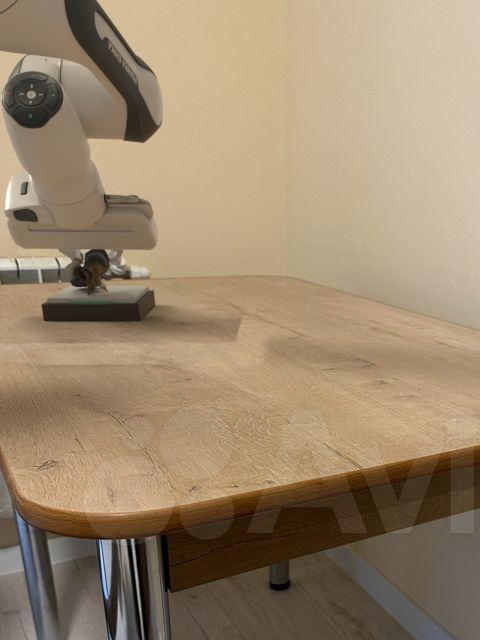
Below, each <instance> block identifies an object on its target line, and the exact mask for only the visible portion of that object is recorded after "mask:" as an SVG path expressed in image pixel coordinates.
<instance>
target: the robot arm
mask: <svg viewBox="0 0 480 640" xmlns="http://www.w3.org/2000/svg"><path fill="white" fill-rule="evenodd" d="M0 52H5V53H11V54H20V55H25V56H23V57H21V59H20V60H18V62H17V64H16V65H15V66H14V68H13V70H12V71H11V73H10V75H9V76H8V79H7V81H6V83H4V85H3V87H2V90H1V92H0V93H1V94H0V107H1V113H2V117H3V120H4V125H5V128H6V131H7V135H8V137H9V140H10V142H11V146H12V148H13V150H14V152H15V155H16V157H17V159H18V162H19V164H20V165H21V167H22V168H23V170H24V172H20V173H16V174H12V175H11V176H9V179H8V182H7V185H6V189H5V194H4V205H3V207H4V208H3V210H4V211H3V212H4V215H5V217H6V218H7V223H6V224H7V228H8V231H9V235H10V237H11V238H12V240H13V242H14V244H15V245H17V246H18V247H19V248H22V249H24V250H25V249H26V250H58V252H59V253H61V254H62V255H64V256H65V257H67V258H68V259H70V261H71V262H73V261H76V260H77V261H78V262H79V263H80V265H81V266H84V258H85V254H84V253H83V250H91V249H105V250H108V251H109V252H108V253H109V254H108V257H109V261H110V266H122V256H123V254H124V251H127V250H128V251H131V250H132V251H133V250H134V251H151V250H154V248H155V247H156V246H157V245H158V237H159V236H158V226H157V223H156V220H155V218H154V210H153V206H152V204H151V202H150V201H149V200H146V199H144V198H141V197H140V196H139V195H135V194H128V195H124V194H123V195H122V194H106V191H105V188H104V185H103V182H102V179H101V176H100V172H99V170H98V168H97V166H96V164H95V162H94V161H93V160H92V158H91V148H90V143H89V141H88V140H90V139H91V140H121V141H124V142H132V143H138V144H139V143H140V144H144V143H146V142H147V141H148V140H149V139H151V138H152V137H153V136H154V135H155V134H156V133H157V131H158V130H159V129H160V128H161V126H162V123H163V117H164V116H163V115H164V100H163V93H162V90H161V87H160V84H159V81H158V78H157V75H156V73H155V72H154V71H153V70H152V68H151V67H150V66H149V65H148V64H147V63H146V62H145V61H144V60H143V59H142V58H141V57H140V56H138V55H137V54H136V53H135V52H134V50H133V49H132V48H131V46H130V45H129V43H128V42H127V40H126V39H125V37H124V36H123V35H122V33H121V31H120V30H119V29H118V28H117V27H116V25H115V23H114V22H113V21H112V20H111V18H110V17H109V15H108V14H107V13H106V11H105V10H104V8H103V7H102V6H101V4H100V3H99V1H98V0H0Z"/></svg>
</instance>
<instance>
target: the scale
mask: <svg viewBox="0 0 480 640" xmlns="http://www.w3.org/2000/svg"><path fill="white" fill-rule="evenodd" d="M106 288H107V290H108V292H107V291H106V290H104V289H101V288H100V287H95V288H94V290H93V291H92V292H91V294H90V295H88V287H75V286H73V285H69V286H67V287H65V288H63V289H62V290H59V291H57V292H56V293H54V294H52V295H50V296H48V297H47V298H46V301H45V302H43V303H41V311H42V317H43V318H42V319H43V321H44V322H51V321H52V322H53V321H55V322H56V321H57V322H59V321H60V322H61V321H67V322H68V321H69V322H70V321H71V322H73V321H77V322H78V321H79V322H80V321H81V322H82V321H84V322H88V321H93V322H94V321H95V322H96V321H97V322H99V321H101V322H102V321H103V322H105V321H106V322H107V321H108V322H109V321H114V322H115V321H117V322H118V321H122V322H123V321H141V320H142V319H143V318H145V316H146V315H147V314H148V313H149V312H150V311H151V310H152V309H154V307H155V306H156V298H155V290H153V289H152V290H151V289H149V288H150V287H149V285H106Z"/></svg>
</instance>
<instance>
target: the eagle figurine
mask: <svg viewBox="0 0 480 640" xmlns="http://www.w3.org/2000/svg"><path fill="white" fill-rule="evenodd" d="M83 262H84V264H83V265H80V263H79V262H78V261H77V260H76V261H73V262H72V261H71V262H70V263H67V265H66V266H65V267H64V274H65V277H66V279H70V280H69V283H70V284H71V286H75V287H88V295H90V294H91V292H92V291H93V290H94V288H95V287H100V288H101V289H104V290H106V291H107V292H108V290H107V288H106V286H107V285H106V284H105V283H104V282H103V280H102V279H101V278H100V277H102V276H103V275H105V274H107V273H108V272H109V270H110V268H111V262H110V261H109V254H108V252H107V250H106V249H88V251H86V252H85V253H84V261H83Z"/></svg>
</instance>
